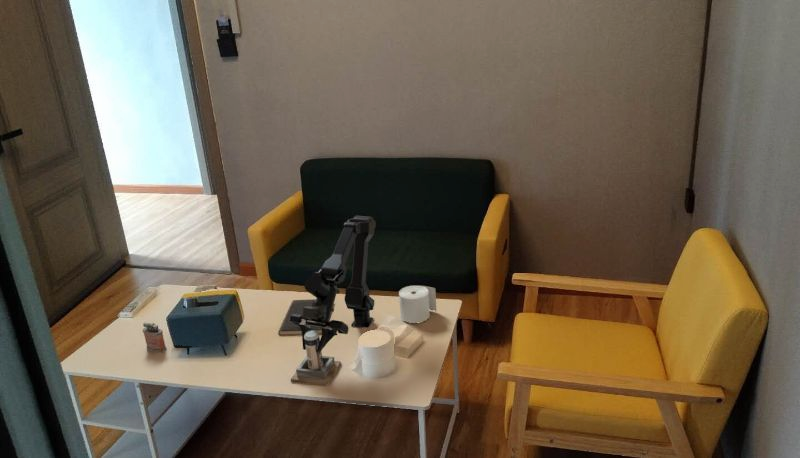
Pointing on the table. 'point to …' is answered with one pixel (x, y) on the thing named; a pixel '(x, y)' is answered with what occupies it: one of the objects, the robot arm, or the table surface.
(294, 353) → the table surface
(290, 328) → the hardcover book
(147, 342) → the lighter
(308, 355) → the beer can
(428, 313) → the toilet tissue
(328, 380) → the socket board
